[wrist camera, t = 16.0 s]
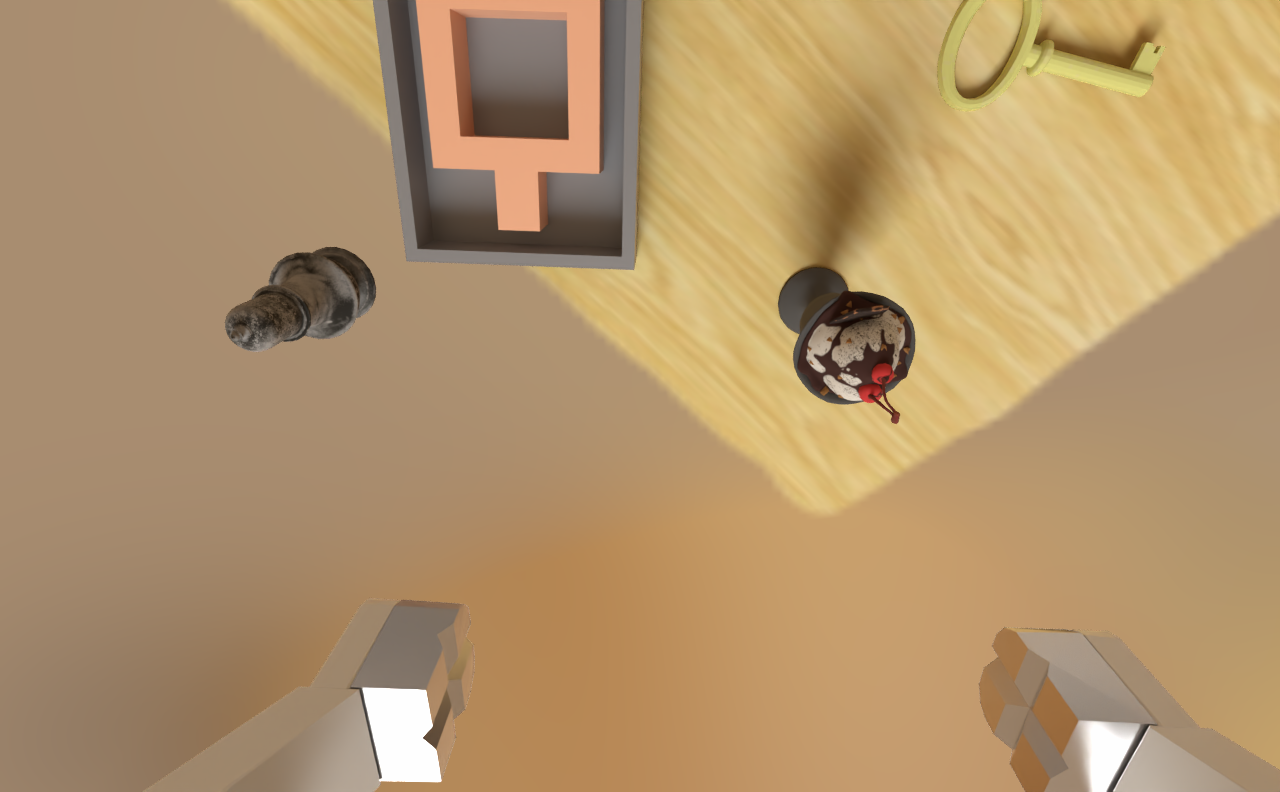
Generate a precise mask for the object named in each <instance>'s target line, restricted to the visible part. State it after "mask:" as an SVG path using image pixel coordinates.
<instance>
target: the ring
mask: <svg viewBox="0 0 1280 792" xmlns="http://www.w3.org/2000/svg"><path fill="white" fill-rule="evenodd" d="M416 6H417V16H418V26H419V35H420V45H421V54H422V64H423V74H424V83H425V93H426V102H427V112H428V122H429V131H430V141H431V151H432V160H433V168H447V169H475V170H495V184H496V200H497V215H498V230H515V231H541V230H542V229H543V228H544V227H545V226H546V225H548V205H547V173H546V172H559V173H587V174H600V173H601V172H602V171H603V170H604V19H605V0H416ZM466 17H474V18H505V19H536V20H567V59H568V120H569V139H563V138H535V137H506V136H477V135H475V134H474V121H473V108H472V94H471V81H470V68H469V55H468V42H467V28H466Z"/></svg>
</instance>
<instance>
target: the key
mask: <svg viewBox="0 0 1280 792" xmlns="http://www.w3.org/2000/svg"><path fill="white" fill-rule="evenodd" d="M985 1H986V0H964V1H963V2H962V4H961V5H960V7H959V8H958V10H957V12H956V14H955V15H954V17H953V19H952V21H951V23H950V26H949V28H948V30H947V32H946V35H945V38H944V41H943V44H942V47H941V51H940V54H939V59H938V66H937V77H938V86H939V90H940V94H941V96H942V97H943V99H944V101H945V102H946V103H947V104H948V105H949V106H950V107H952V108H954V109H957V110H961V111H975V110H978V109H981V108H983V107H985V106H987V105H989V104H991V103H992V102H994V101H995V100H996V99H997V98H998V97H999V96H1000V95H1001V94H1002V93H1004V92H1005V91H1006V90H1007V88H1008V87H1009V86H1010V85H1011V83H1012V82H1013V81H1014V80H1015V78H1016V76H1017V75H1018V73H1019V71H1020V70H1021V68H1022V66H1025V67H1027V74H1028V75H1029V76H1036V75H1038V74H1039V73H1041V72H1042V71H1043V72H1047V73H1051V74H1054V75H1058V76H1062V77H1066V78H1069V79H1073V80H1077V81H1080V82H1084V83H1088V84H1091V85H1095V86H1099V87H1103V88H1106V89H1110V90H1114V91H1117V92H1121V93H1125V94H1129V95H1132V96H1136V97H1141V96H1143V95H1144V94H1145V93H1146V92H1147V91H1148V90H1149V88H1150V87H1151V85H1152V83H1153V76H1152V75H1151V74H1152V72H1153V70H1154V68H1155V66H1156V64H1157V63H1158V61H1159V59H1160V57H1161V55H1162V53H1163V51H1164V50H1165V48H1166V47H1164V46H1158V47H1156V48H1155V47H1153V45H1154V44H1153V43H1149V42H1145V43H1142V45H1141V47H1140V49H1139V51H1138V53H1137V55H1136V57H1135V59H1134V61H1133V63H1132V65H1131V66H1130V68H1129V69H1126V68H1122V67H1118V66H1114V65H1111V64H1107V63H1103V62H1100V61H1096V60H1092V59H1088V58H1085V57H1081V56H1077V55H1074V54H1070V53H1066V52H1062V51H1059V50H1055V49H1054V42H1053V41H1052V40H1045V41H1043V42H1042V43H1040V44H1039V45H1036V44H1033V43H1034V40H1035V37H1036V34H1037V31H1038V28H1039V25H1040V19H1041V13H1042V0H1023V19H1022V25H1021V29H1020V32H1019V36H1018V39H1017V42H1016V44H1015V47H1014V49H1013V52H1012V54H1011V56H1010V58H1009V60H1008V62H1007V64H1006V66H1005V67H1004V69H1003V71H1002V73H1001V74H1000V76H999V77H998V79H997V80H996V81H995V82H994V84H993V85H992V86H991V87H990V88H989V89H988V90H987V91H986V92H985V93H984V94H982V95H981V96H979V97H976V98H963V97H962V96H961V95H960V94H959V93H958V91H957V89H956V85H955V74H954V73H955V62H956V58H957V53H958V49H959V46H960V43H961V41H962V38H963V36H964V33H965V31H966V29H967V27H968V25H969V23H970V22H971V20H972V18H973V17H974V15H975V14H976V12H977V11H978V9H979V8H980V7H981V6H982V4H983V3H984V2H985Z"/></svg>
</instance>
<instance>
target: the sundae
mask: <svg viewBox="0 0 1280 792" xmlns="http://www.w3.org/2000/svg"><path fill="white" fill-rule="evenodd" d="M778 307H779V313H780V317H781V319H782V321H783V322H784V324H785V325H786V326H787V327H788V328H789V329H791V330H792V331H794V332H796V333H798V334H800V335H799V337H798V340H797V342H796V345H795V348H794V353H793V361H794V367H795V370H796V372H797V375H798V377H799V378H800V380H801V381H802V383H803V384H804V385H805V387H806V388H807V389H808V390H809V391H810V392H811V393H812V394H814V395H815V396H817V397H818V398H820V399H822V400H824V401H826V402H829V403H834V404H854V403H859V402H867V403H873V402H876V403H877V404H879V405H880V406H881V407H882V408H883V409H885V410H886V411H887V412H889V413H890V414H891V415H892V418H891V421H892V423H895V424H897V423H898V421H899V416H900V413H899V412H897V411H895V409H894V408H893V407H892V406H891V405H890V404H889V403H888V401H887V398H886V393H887V392H888V391H890V390H891V389H893V388H894V387H895V386H896V385H897V384H898V383H899V382H900V381H901V380H903V379H904V378H906V377H907V374H908V370H909V368H910V365H911V363H912V360H913V356H914V352H915V331H914V327H913V323H912V321H911V319H910V317H909V316H908V314H907V313H906V312H905V310H904V309H903V308H902V307H900V306H899V305H898V304H896V303H895V302H893V301H892V300H890V299H888V298H886V297H884V296H880V295H877V294H873V293H868V292H850V291H848V287H847V286H846V284H845V282H844V281H843V279H842V278H841V276H839V275H838V274H836V273H835V272H833V271H831V270H829V269H825V268H810V269H806V270H803V271H801V272H799V273H797V274H796V275H794V276H793V277H792V278H791V279H789V281H788V282H787V283H786V284H785V286H784V287H783V289H782V291H781V294H780V297H779V302H778ZM882 395H883V396H884V400H885V402H886V403H887V405H888V406H889V408H890V409H891V410H892V411H893V412H891V411H890V410H889V409H888V408H886V407H885V406H884V405H883V404H882V403H881V402H880V401H879V399H880V398H881V397H882Z"/></svg>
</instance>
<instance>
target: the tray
mask: <svg viewBox="0 0 1280 792" xmlns="http://www.w3.org/2000/svg"><path fill="white" fill-rule="evenodd" d="M373 5H374V13H375V21H376V28H377V36H378V44H379V52H380V59H381V67H382V75H383V83H384V90H385V98H386V106H387V114H388V121H389V129H390V137H391V145H392V152H393V159H394V167H395V175H396V183H397V190H398V199H399V206H400V214H401V222H402V229H403V237H404V245H405V253H406V260H407V261H413V262H414V261H416V262H440V263H467V264H494V265H519V266H546V267H572V268H598V269H625V270H634V268H635V262H636V251H637V216H638V181H639V146H640V111H641V75H642V40H643V5H644V0H605V19H604V170H603V171H602V172H601V173H600V174H587V173H559V172H546V173H547V205H548V225H546V226H545V227H544V228H543V229H542V230H541V231H515V230H498V215H497V200H496V184H495V170H475V169H447V168H433V160H432V151H431V141H430V131H429V122H428V112H427V102H426V93H425V83H424V74H423V64H422V54H421V45H420V35H419V26H418V16H417V6H416V0H373ZM466 28H467V42H468V55H469V68H470V81H471V94H472V108H473V121H474V134H475V135H477V136H506V137H535V138H563V139H569V120H568V59H567V20H536V19H505V18H474V17H466Z"/></svg>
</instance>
